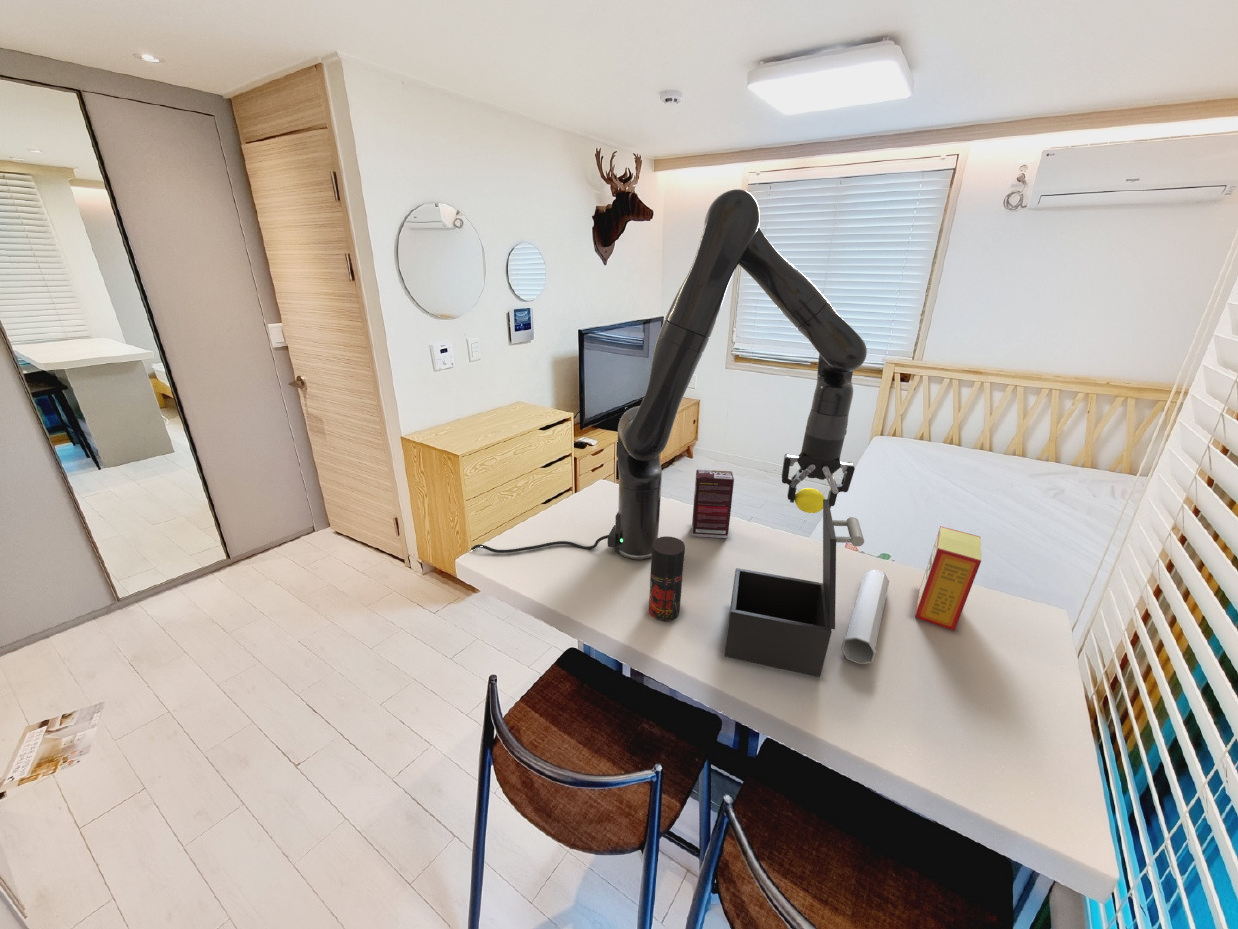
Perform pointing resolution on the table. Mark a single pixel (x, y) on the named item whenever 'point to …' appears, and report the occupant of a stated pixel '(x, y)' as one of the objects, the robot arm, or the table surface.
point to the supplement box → (712, 503)
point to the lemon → (809, 500)
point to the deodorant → (666, 578)
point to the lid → (830, 554)
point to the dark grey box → (778, 622)
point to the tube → (866, 618)
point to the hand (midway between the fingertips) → (809, 503)
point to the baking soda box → (948, 577)
